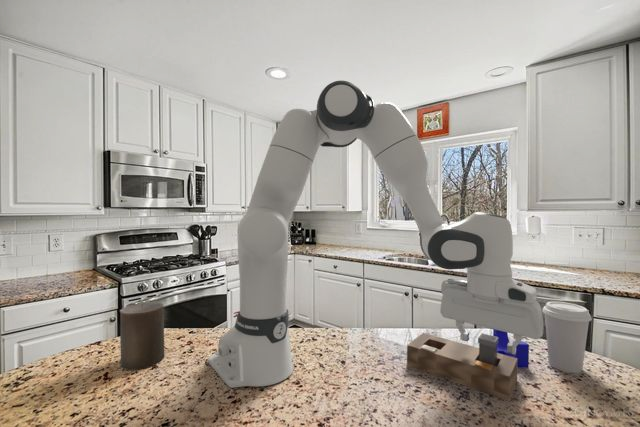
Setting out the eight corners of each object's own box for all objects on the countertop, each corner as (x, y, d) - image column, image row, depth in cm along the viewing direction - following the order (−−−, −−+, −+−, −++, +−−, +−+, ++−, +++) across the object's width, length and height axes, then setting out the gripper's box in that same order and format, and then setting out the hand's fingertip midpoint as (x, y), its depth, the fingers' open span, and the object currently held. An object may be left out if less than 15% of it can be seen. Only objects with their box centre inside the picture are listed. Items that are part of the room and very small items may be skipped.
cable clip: (487, 346, 88) (487, 325, 88) (504, 346, 88) (504, 325, 87) (509, 367, 76) (509, 343, 76) (528, 368, 76) (528, 344, 75)
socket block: (406, 364, 77) (407, 343, 77) (422, 350, 84) (423, 331, 84) (509, 401, 62) (509, 375, 62) (517, 380, 70) (517, 357, 70)
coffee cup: (533, 362, 78) (534, 303, 78) (553, 354, 83) (554, 298, 82) (578, 381, 70) (579, 315, 70) (598, 370, 74) (599, 309, 74)
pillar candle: (168, 362, 78) (168, 302, 78) (122, 374, 72) (122, 310, 71) (159, 348, 85) (159, 294, 85) (117, 359, 79) (117, 301, 79)
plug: (477, 377, 69) (478, 337, 69) (481, 371, 72) (481, 333, 72) (494, 383, 67) (495, 342, 67) (497, 376, 70) (498, 337, 70)
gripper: (436, 279, 73) (435, 337, 74) (542, 296, 60) (540, 367, 60) (445, 275, 78) (444, 329, 78) (545, 290, 65) (543, 355, 65)
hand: (487, 346), depth 69 cm, fingers open, 8 cm apart
